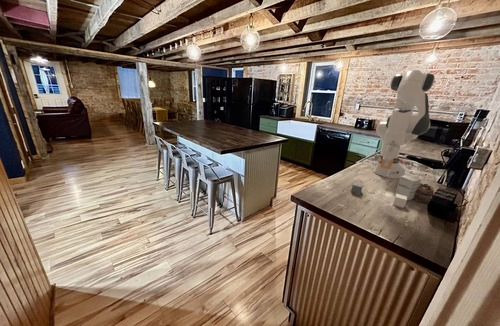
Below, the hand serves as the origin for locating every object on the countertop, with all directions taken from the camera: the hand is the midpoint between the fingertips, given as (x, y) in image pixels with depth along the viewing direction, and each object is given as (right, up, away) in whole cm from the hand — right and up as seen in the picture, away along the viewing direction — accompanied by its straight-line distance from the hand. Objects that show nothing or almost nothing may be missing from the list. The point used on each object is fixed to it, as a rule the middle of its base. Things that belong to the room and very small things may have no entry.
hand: (386, 164), depth 111 cm
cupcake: (+25, -21, +8) cm, 34 cm away
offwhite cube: (+8, -22, +1) cm, 24 cm away
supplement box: (+17, -20, +10) cm, 28 cm away
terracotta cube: (0, -2, +1) cm, 2 cm away
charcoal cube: (-10, -17, +13) cm, 24 cm away
